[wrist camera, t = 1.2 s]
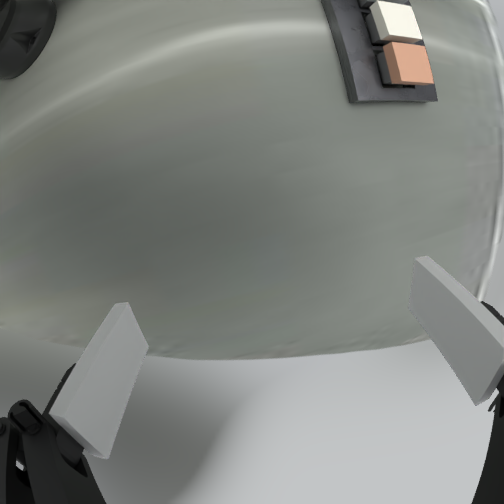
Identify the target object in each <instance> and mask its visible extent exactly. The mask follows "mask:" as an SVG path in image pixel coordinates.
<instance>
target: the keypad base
mask: <svg viewBox="0 0 504 504" xmlns="http://www.w3.org/2000/svg"><path fill="white" fill-rule="evenodd" d="M321 1H322V4H323V7H324V10H325V13H326V16H327V19H328V22H329V25H330V28H331V32H332V35H333V38H334V42H335V45H336V49H337V52H338V56H339V60H340V64H341V68H342V72H343V76H344V80H345V85H346V89H347V94H348V99H349V103H359V102H434V101H438V100H437V94H436V89H435V84H429V85H410V84H409V85H403V88H382V84H381V80H380V75H379V71H378V67H377V63H376V59H375V56H376V55H378V54H380V53H382V52H384V50H383V47H380V46H372V45H371V41H370V38H369V35H368V32H367V28H366V25H365V22H364V21H365V19H364V18H365V17H366V16H367V15H369V14H370V13H371V10H367V9H360V8H359V5H358V3H357V0H321ZM402 5H407V6H411V4H410V2H409V0H408V1H407V2H405V3H404V4H402ZM411 8H412V7H411ZM413 13H414V12H413ZM414 16H415V15H414ZM415 18H416V17H415ZM416 21H417V20H416ZM417 24H418V23H417ZM418 27H419V26H418ZM419 30H420V29H419ZM420 33H421V32H420ZM421 36H422V35H421ZM405 43H406V42H405ZM406 44H413V45H420V46H425V45H424V41H423V38H422V40H420V41H418V42H415V43H406ZM425 49H426V48H425ZM426 53H427V51H426ZM427 56H428V55H427ZM428 60H429V59H428ZM429 64H430V63H429ZM430 68H431V67H430ZM431 72H432V71H431ZM432 76H433V75H432ZM433 81H434V79H433Z"/></svg>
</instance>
